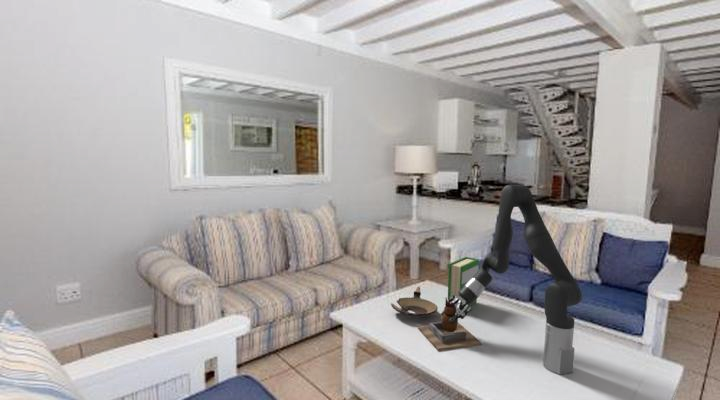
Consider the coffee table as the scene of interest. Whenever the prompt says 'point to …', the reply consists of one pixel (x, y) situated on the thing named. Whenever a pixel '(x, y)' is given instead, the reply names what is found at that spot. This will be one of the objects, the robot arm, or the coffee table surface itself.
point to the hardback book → (461, 275)
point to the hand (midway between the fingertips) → (446, 319)
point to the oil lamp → (415, 305)
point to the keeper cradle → (448, 336)
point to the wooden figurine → (449, 317)
